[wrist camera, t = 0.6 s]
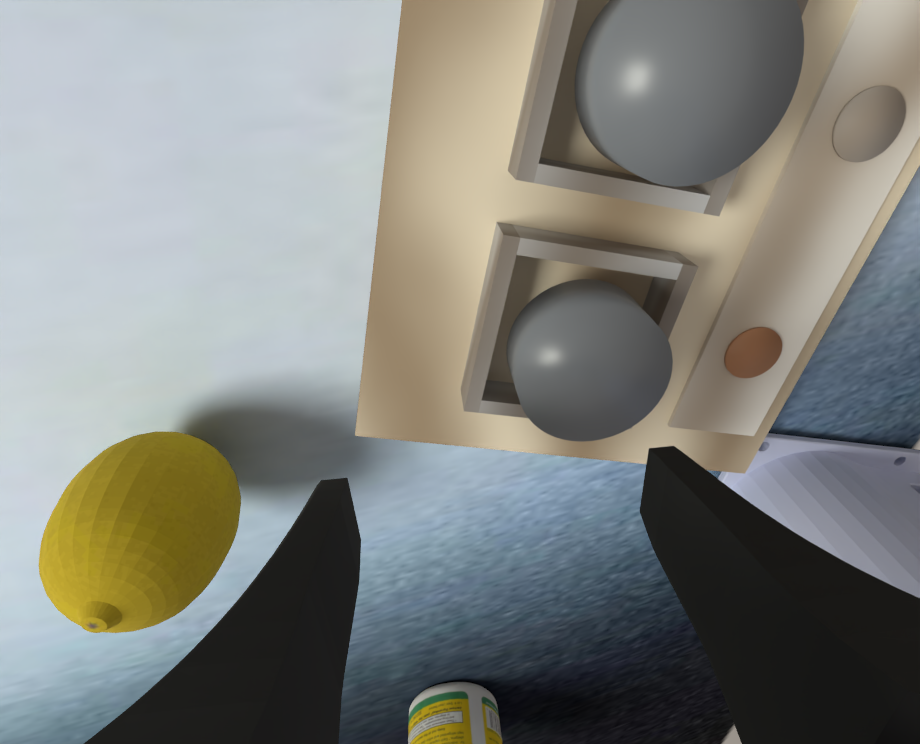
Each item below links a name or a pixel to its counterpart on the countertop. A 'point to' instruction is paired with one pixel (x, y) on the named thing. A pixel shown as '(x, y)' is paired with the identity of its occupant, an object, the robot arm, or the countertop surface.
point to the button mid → (687, 83)
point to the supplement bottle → (454, 715)
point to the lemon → (140, 532)
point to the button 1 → (587, 360)
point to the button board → (619, 226)
